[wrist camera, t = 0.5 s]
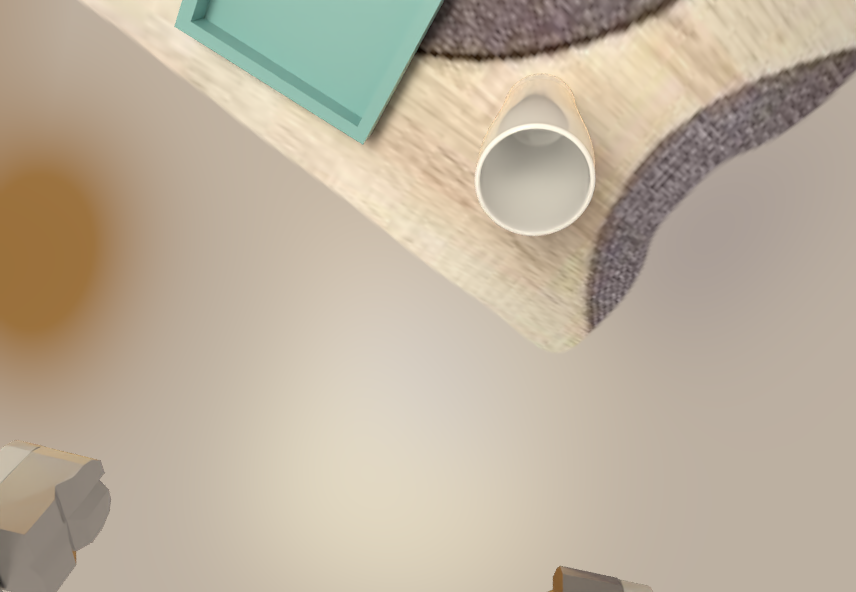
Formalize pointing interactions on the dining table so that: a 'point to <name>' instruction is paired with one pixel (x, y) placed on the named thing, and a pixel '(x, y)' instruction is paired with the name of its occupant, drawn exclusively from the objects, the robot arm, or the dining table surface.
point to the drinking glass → (536, 160)
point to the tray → (318, 49)
